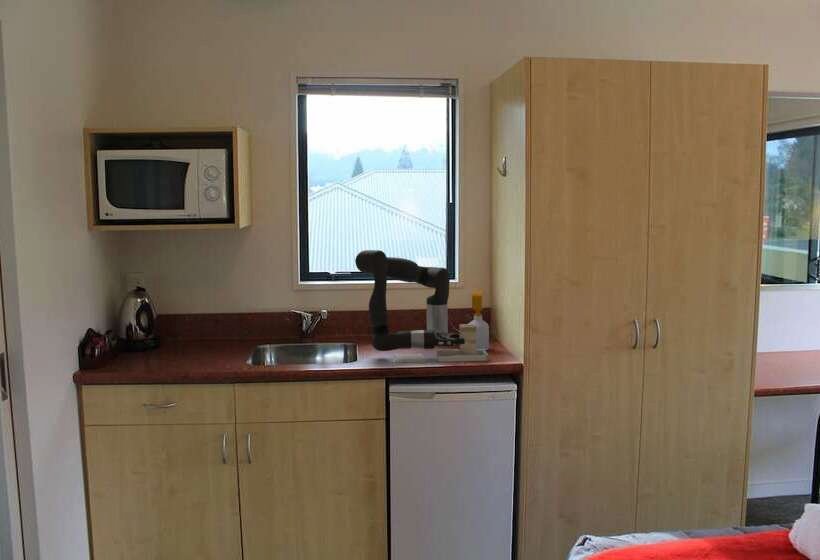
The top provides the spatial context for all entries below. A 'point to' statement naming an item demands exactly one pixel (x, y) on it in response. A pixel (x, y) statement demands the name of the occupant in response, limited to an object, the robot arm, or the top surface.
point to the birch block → (468, 339)
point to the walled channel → (480, 356)
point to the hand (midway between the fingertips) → (463, 338)
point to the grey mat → (410, 358)
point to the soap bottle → (480, 322)
